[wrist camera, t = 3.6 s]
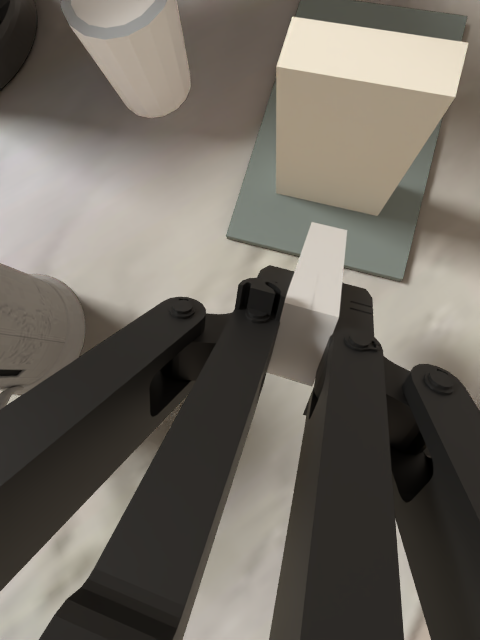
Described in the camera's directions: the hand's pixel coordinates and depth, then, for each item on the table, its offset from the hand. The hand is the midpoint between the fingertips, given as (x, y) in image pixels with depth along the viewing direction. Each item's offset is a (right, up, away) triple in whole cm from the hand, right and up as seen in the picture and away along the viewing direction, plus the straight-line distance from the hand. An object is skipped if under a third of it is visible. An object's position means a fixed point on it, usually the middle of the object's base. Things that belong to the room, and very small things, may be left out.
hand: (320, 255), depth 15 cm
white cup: (-10, +15, +12) cm, 22 cm away
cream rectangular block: (+3, +6, +8) cm, 11 cm away
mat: (+4, +11, +10) cm, 15 cm away
